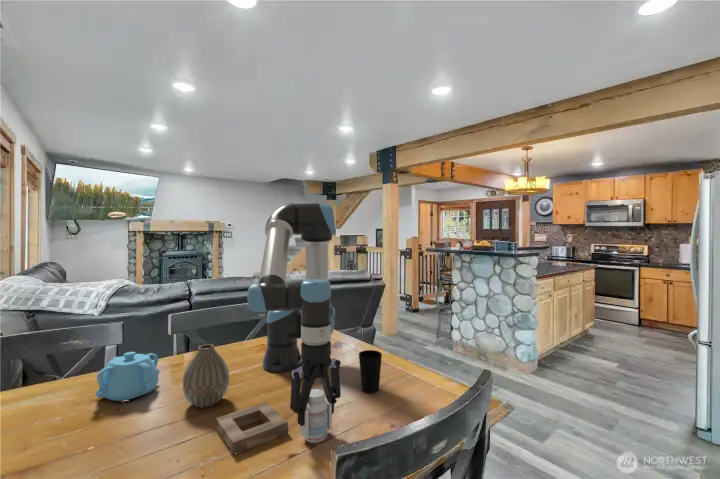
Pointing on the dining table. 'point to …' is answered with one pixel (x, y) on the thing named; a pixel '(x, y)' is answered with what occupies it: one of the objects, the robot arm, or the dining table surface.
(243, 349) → the dining table surface
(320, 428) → the pill bottle
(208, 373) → the vase
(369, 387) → the cup
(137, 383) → the decorative pot
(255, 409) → the socket block
